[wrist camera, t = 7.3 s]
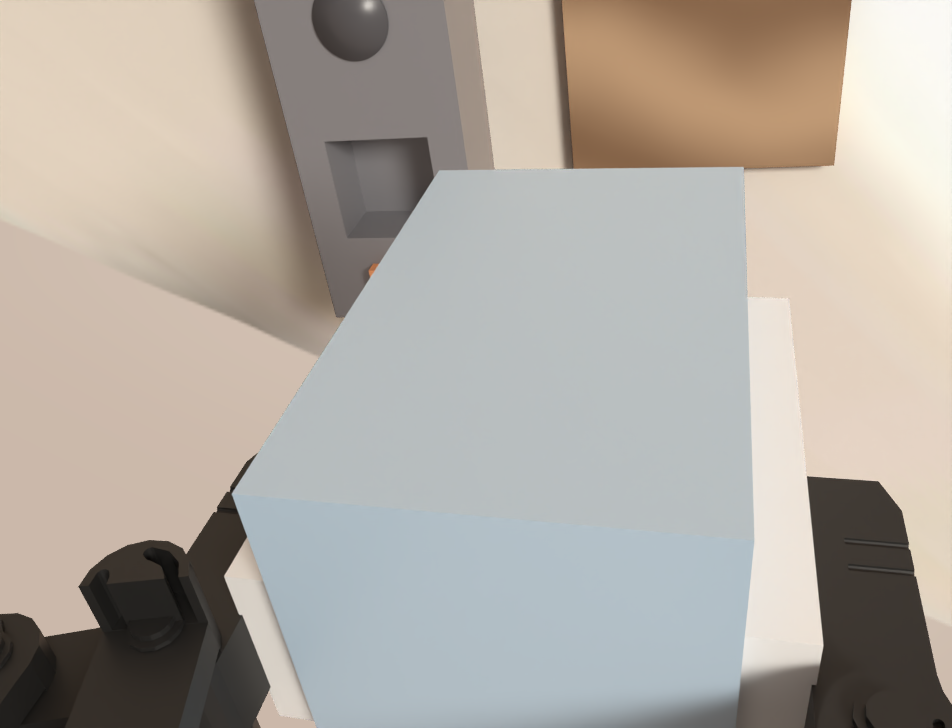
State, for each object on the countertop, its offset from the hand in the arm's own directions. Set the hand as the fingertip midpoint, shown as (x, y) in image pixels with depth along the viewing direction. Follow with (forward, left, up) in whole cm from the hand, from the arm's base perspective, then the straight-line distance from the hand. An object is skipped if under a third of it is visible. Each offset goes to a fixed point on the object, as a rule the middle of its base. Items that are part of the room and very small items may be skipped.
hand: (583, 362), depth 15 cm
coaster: (-1, +2, -22) cm, 22 cm away
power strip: (-4, -10, -22) cm, 25 cm away
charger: (0, 0, -4) cm, 4 cm away
